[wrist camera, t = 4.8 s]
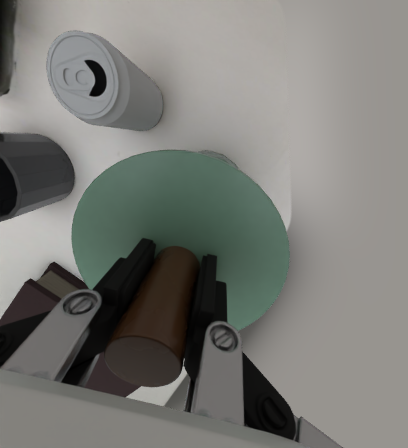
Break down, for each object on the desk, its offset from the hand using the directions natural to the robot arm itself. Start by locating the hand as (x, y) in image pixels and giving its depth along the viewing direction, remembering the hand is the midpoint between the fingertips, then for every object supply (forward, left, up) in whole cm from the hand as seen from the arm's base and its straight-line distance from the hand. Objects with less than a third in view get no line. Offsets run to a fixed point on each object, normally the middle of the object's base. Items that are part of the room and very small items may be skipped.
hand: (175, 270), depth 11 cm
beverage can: (-13, -5, -21) cm, 25 cm away
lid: (0, 0, -1) cm, 1 cm away
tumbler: (-10, -23, -20) cm, 32 cm away
